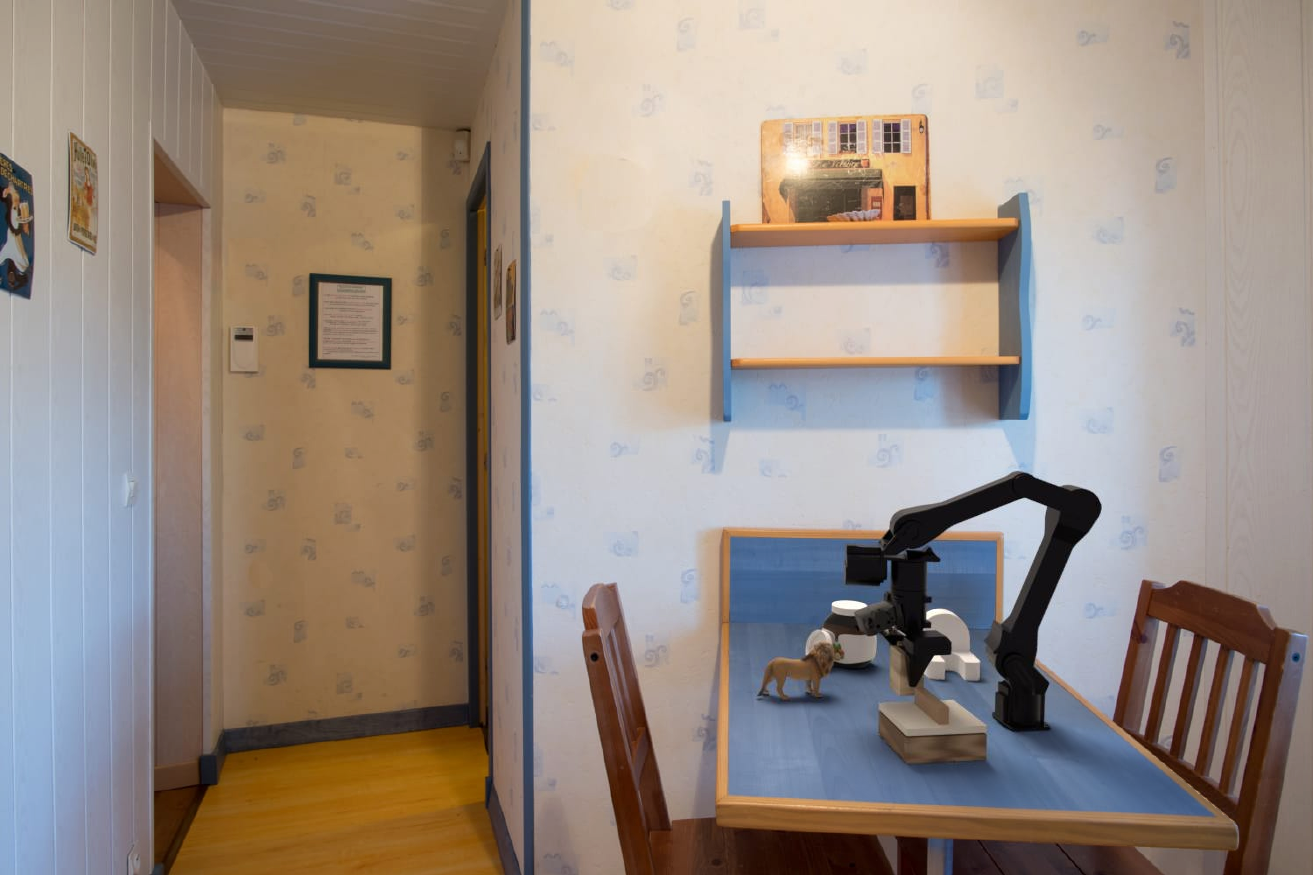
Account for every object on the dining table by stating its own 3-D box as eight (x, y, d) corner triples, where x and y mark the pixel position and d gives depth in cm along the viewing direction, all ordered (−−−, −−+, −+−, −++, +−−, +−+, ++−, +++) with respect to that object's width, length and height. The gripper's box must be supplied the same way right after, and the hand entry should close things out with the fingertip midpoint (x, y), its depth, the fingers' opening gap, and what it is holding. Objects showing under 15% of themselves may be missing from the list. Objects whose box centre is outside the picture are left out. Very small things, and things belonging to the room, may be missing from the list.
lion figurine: (826, 685, 144) (826, 636, 144) (841, 696, 139) (841, 645, 139) (751, 694, 140) (751, 643, 139) (764, 705, 135) (764, 652, 134)
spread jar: (881, 664, 156) (882, 605, 156) (852, 678, 148) (853, 616, 147) (828, 651, 164) (828, 595, 164) (797, 663, 156) (798, 605, 156)
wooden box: (952, 731, 124) (952, 707, 124) (986, 759, 114) (986, 734, 114) (878, 734, 123) (878, 710, 123) (906, 763, 113) (906, 738, 113)
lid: (953, 706, 124) (953, 683, 124) (986, 732, 114) (987, 708, 114) (878, 709, 123) (879, 686, 122) (906, 736, 113) (907, 711, 113)
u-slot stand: (952, 651, 165) (953, 600, 165) (981, 682, 147) (982, 624, 147) (905, 650, 166) (906, 599, 165) (928, 680, 148) (929, 622, 147)
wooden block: (912, 686, 133) (913, 638, 132) (923, 695, 129) (924, 646, 128) (889, 687, 132) (890, 639, 132) (899, 696, 128) (900, 646, 128)
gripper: (840, 576, 138) (839, 665, 139) (883, 603, 119) (882, 705, 120) (902, 574, 139) (901, 662, 140) (954, 601, 121) (952, 702, 121)
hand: (906, 681), depth 130 cm, fingers closed on wooden block, 4 cm apart
